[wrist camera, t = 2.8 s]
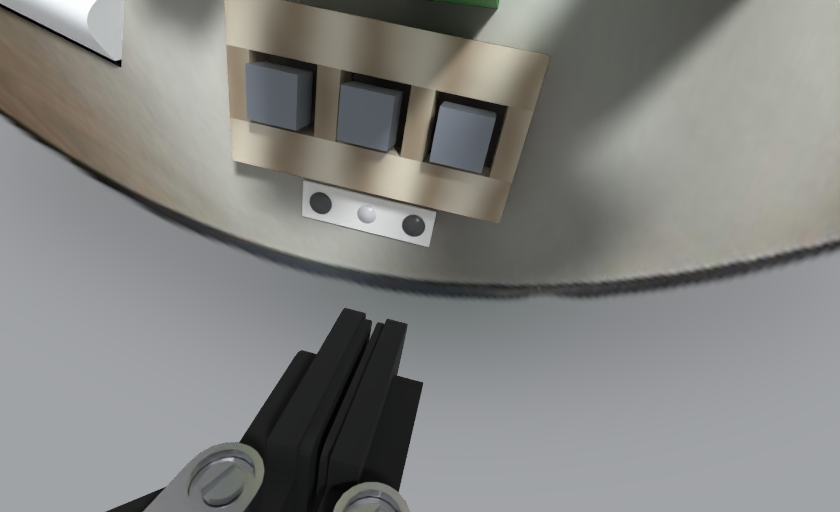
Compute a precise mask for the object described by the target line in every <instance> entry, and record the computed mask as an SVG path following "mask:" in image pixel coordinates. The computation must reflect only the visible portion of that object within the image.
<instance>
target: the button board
mask: <svg viewBox="0 0 840 512" xmlns="http://www.w3.org/2000/svg"><path fill="white" fill-rule="evenodd" d="M224 5H225V25H226V44H227V64H228V84H229V104H230V123H231V143H232V160H234V161H238V162H242V163H246V164H250V165H254V166H259V167H263V168H267V169H271V170H275V171H279V172H284V173H288V174H292V175H296V176H300V177H305V178H309V179H313V180H317V181H321V182H325V183H330V184H334V185H338V186H342V187H346V188H351V189H355V190H359V191H363V192H367V193H371V194H376V195H380V196H384V197H388V198H392V199H397V200H401V201H405V202H409V203H413V204H417V205H422V206H426V207H430V208H434V209H438V210H442V211H447V212H451V213H455V214H459V215H463V216H468V217H472V218H476V219H480V220H484V221H488V222H493V223H497V224H500V220H501V217H502V214H503V210H504V207H505V204H506V201H507V197H508V194H509V191H510V188H511V184H512V181H513V178H514V174H515V171H516V168H517V165H518V161H519V158H520V155H521V151H522V148H523V145H524V142H525V138H526V135H527V132H528V129H529V125H530V122H531V119H532V115H533V112H534V109H535V106H536V102H537V99H538V96H539V93H540V89H541V86H542V83H543V79H544V76H545V73H546V70H547V66H548V63H549V60H550V56H548V55H544V54H539V53H535V52H530V51H525V50H520V49H515V48H511V47H506V46H501V45H496V44H492V43H487V42H482V41H477V40H472V39H468V38H463V37H458V36H453V35H448V34H444V33H439V32H434V31H429V30H425V29H420V28H415V27H410V26H405V25H401V24H396V23H391V22H386V21H381V20H377V19H372V18H367V17H362V16H357V15H353V14H348V13H343V12H338V11H334V10H329V9H324V8H319V7H314V6H310V5H305V4H300V3H295V2H290V1H286V0H224ZM267 53H268V54H272V55H277V56H281V57H286V58H290V59H295V60H300V61H304V62H309V63H313V64H318V66H317V86H316V106H315V126H314V127H310V126H305V127H303V128H300V129H298V130H291V129H287V128H283V127H278V126H274V125H270V124H265V123H261V122H257V121H252V120H248V119H247V105H246V72H245V63H252V62H262V61H265V62H267ZM352 72H354V73H359V74H363V75H368V76H373V77H377V78H382V79H386V80H391V81H395V82H400V83H405V84H409V85H412V86H411V92H410V98H409V105H408V111H407V118H406V124H405V130H404V137H403V143H402V148H401V147H397V146H392V147H391V148H390V149H389V150H388V151H387V152H386V151H382V150H378V149H373V148H369V147H365V146H360V145H356V144H352V143H347V142H343V141H339V140H337V129H338V116H339V103H340V90H341V84H344V83H347V82H351V78H352ZM440 91H441V92H446V93H450V94H455V95H459V96H464V97H469V98H473V99H478V100H482V101H487V102H491V103H496V104H500V105H505V106H507V108H506V112H505V116H504V119H503V123H502V127H501V130H500V134H499V138H498V141H497V145H496V149H495V152H494V156H493V160H492V163H491V167H490V168H488V167H484V166H483V169H482V173H477V172H473V171H468V170H464V169H460V168H456V167H451V166H447V165H443V164H438V163H434V162H430V161H429V160H430V155H431V154H428V150H429V144H430V139H431V134H432V129H433V123H434V118H435V113H436V108H437V102H438V97H439V92H440Z"/></svg>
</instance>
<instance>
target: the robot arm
mask: <svg viewBox="0 0 840 512" xmlns="http://www.w3.org/2000/svg"><path fill="white" fill-rule="evenodd" d="M365 318H366V314H365V313H363V312H359V311H355V310H351V309H347V308H344V309H343V311H342V312H341V314H340V316H339V317H338V319H337V321H336V322H335V324H334V326H333V328H332V329H331V331H330V333H329V335H328V336H327V338H326V340H325V342H324V343H323V345H322V347H321V349H320V350H319V352H318V353H317V354H314V353H310V352H306V351H302V350H301V351H299V352H298V353H297V355H296V356H295V357H294V359H293V360H292V362H291V363H290V365H289V366H288V368H287V370H286V371H285V373H284V374H283V376H282V377H281V379H280V380H279V382H278V384H277V385H276V387H275V388H274V390H273V391H272V393H271V394H270V396H269V397H268V399H267V401H266V402H265V403H264V405H263V407H262V408H261V410H260V411H259V413H258V414H257V416H256V417H255V419H254V421H253V422H252V424H251V425H250V427H249V428H248V430H247V431H246V433H245V434H244V436H243V437H242V439H241V441H240V442H239V443H238V442H237V443H236V442H235V443H222V444H219V445H215V446H212V447H210V448H208V449H206V450H204V451H203V452H201V453H199V454H198V455H197V456H196V457H195V458H194V459H192V460H191V461H190V462H189V463H188V464H187V465H186V466H185V467H184V468H183V470H182V471H181V472H180V473H179V474H178V475H177V476H176V477H175V478H174V479H173V480H172V481H171V482H170V483H169V485H168V486H167V487H165V488H162V489H160V490H157V491H155V492H152V493H150V494H148V495H145V496H143V497H140V498H138V499H136V500H133V501H131V502H128V503H126V504H123V505H121V506H118V507H116V508H114V509H111V510H109V511H107V512H410V511H409V508H408V506H407V503H406V501H405V500H404V499H403V498H402V496H401V495H400V494H399V493H398V492H399V488H400V483H401V479H402V475H403V470H404V465H405V462H406V457H407V452H408V448H409V444H410V439H411V435H412V431H413V426H414V421H415V417H416V413H417V408H418V404H419V400H420V395H421V391H422V386H423V382H419V381H415V380H411V379H408V378H403V377H400V376H397V373H398V368H399V364H400V359H401V354H402V349H403V344H404V340H405V335H406V330H407V324H405V323H402V322H398V321H394V320H390V319H387V320H386V322H385V324H383V323H379V322H378V323H377V324H376V327H375V329H374V331H373V334H372V336H371V338H370V332H371V325H372V321H371V320H367V319H365ZM369 339H370V340H369Z"/></svg>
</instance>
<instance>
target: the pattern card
mask: <svg viewBox="0 0 840 512" xmlns="http://www.w3.org/2000/svg"><path fill="white" fill-rule="evenodd" d="M436 213H437V211H433V210H429V209H424V208H420V207H416V206H412V205H408V204H404V203H399V202H395V201H391V200H387V199H383V198H379V197H374V196H370V195H366V194H362V193H358V192H353V191H349V190H345V189H341V188H337V187H333V186H328V185H324V184H320V183H316V182H312V181H308V180H304V181H303V201H302V216H304V217H308V218H312V219H316V220H321V221H325V222H329V223H333V224H337V225H341V226H345V227H349V228H353V229H357V230H361V231H365V232H369V233H373V234H377V235H381V236H386V237H390V238H394V239H398V240H402V241H406V242H410V243H414V244H418V245H422V246H426V247H429V245H430V241H431V236H432V232H433V227H434V222H435V218H436Z"/></svg>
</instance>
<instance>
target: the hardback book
mask: <svg viewBox="0 0 840 512" xmlns="http://www.w3.org/2000/svg"><path fill="white" fill-rule="evenodd" d="M430 1H439V2H447V3H455V4H463V5H472V6H480V7H488V8H496V9H498V4H499V0H430Z"/></svg>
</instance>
